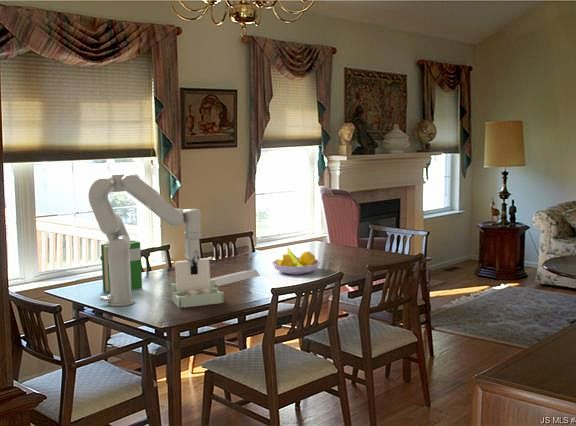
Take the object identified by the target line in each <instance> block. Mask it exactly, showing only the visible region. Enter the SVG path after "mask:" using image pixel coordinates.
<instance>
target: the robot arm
mask: <svg viewBox="0 0 576 426" xmlns="http://www.w3.org/2000/svg"><path fill="white" fill-rule="evenodd" d="M120 192H126V193H127V194H129V195H130V196H132V197H133V198H134V199H136V200H137V201H138V202H140V203H141V204H143V206H144V207H146V208H147V209H148V210H149V211H151V212H152V213H153V214H155V215H156V216H158V218H160V219H161V220H163V222H166V223H167V224H168V225H169V226H172V227H175V228H176V227H180V226H181V225H182V224H184V225H183V227H184V239H185V246H184V247H185V248H184V249H185V250H184V251H185V252H184V253H185V254H184V255H185V258H186V260H191V275H194V274H198V260H199V259H201V246H200V240H201V238H202V231H201V230H202V229H201V228H202V227H201V223H202V222H201V210H200V209H199V208H187V209H185V208H178V207H177V208H176V207H173V205H171V204H170V203H169V202H167V201H166V200H165V199H164V198H163V197H162V195H161V194H160V193H159V192H158V191H157V189H155V188H153V187H151V186H150V185H149V184H148V183H146V182H145V181H144V180H143V179H141V178H140V176H139V175H138V174H137V173H135V172H127V173H126V172H125V173H113V174H105V175H102V176H99V177H98V178H96V180H94V181H93V183H92V184H91V185H90V187H89V189H88V201H89V204H90V207H91V210H92V212H93V214H94V217H95V220H96V222H97V224H98V227H99V229H100V231H101V233H102V234H104V235H105V236H106V238H107V240H108V243H107V244H108V259H109V273H110V293H109V292H108V295H106V296H104V295H103V296H99V299H100V301H103V302H107V305H108V306H110V305H111V307H125V306H126V305H127V306H130V305H133V304H135V303H136V299H135V298H133V297H132V295H133V293H132V290H131V271H130V256H129V249H130V246H131V241H132V240H131V238H130V235H129V234H128V231H127V229H126V227H125V223H124V222H123V220H122V218H121V216H119V215H118V214H117V213H115V211H114V208H113V206H112V203H111V202H110V200H109V194H111V193H120Z"/></svg>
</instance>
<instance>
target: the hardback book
mask: <svg viewBox="0 0 576 426" xmlns="http://www.w3.org/2000/svg"><path fill="white" fill-rule="evenodd" d="M130 241H131V246H130V249H129V256H130V271H131V291H136V290H140V289H141V290H142V289H143V281H142V279H143V277H142V256H141V254H142V253H141V242H140V241H138V240H130ZM108 244H109V243H103V244H100V252H101V270H102V271H101V272H102V290H103V291H106V292H108V294H109V293H110V273H109V259H108Z"/></svg>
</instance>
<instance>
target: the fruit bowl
mask: <svg viewBox="0 0 576 426" xmlns="http://www.w3.org/2000/svg"><path fill="white" fill-rule="evenodd" d="M286 249H287V253H286V254H284V253H283V254H282V255H281V256H279V257H278V258H277V259H275V260H274V261H271V264H272V265H273V268H274V269H275V270H277V271H278V272H281V273H283V274H287V275H295V276H298V274H299V275H305V274H309V273H311V272H313V271H315V270H317V269H318V267H319V266H320V263H321V261H320V260H318V259H316V256H315V255H314V254H313V253H312V252H310V251H304V252H303V253H301V255H300V256H299V257H297V256H296V255H295V254H294V253H293V252H292V251H291V250H290V248H289V247H288V248H286ZM304 273H305V274H304Z"/></svg>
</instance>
